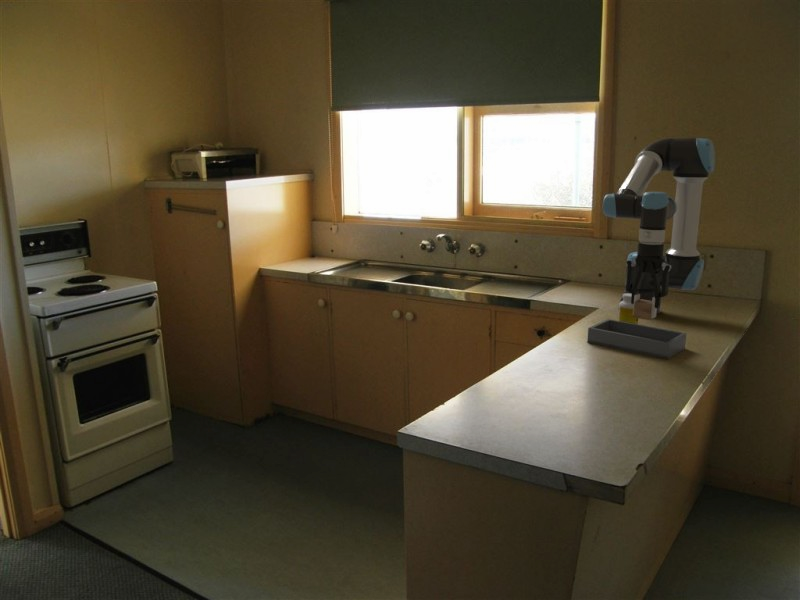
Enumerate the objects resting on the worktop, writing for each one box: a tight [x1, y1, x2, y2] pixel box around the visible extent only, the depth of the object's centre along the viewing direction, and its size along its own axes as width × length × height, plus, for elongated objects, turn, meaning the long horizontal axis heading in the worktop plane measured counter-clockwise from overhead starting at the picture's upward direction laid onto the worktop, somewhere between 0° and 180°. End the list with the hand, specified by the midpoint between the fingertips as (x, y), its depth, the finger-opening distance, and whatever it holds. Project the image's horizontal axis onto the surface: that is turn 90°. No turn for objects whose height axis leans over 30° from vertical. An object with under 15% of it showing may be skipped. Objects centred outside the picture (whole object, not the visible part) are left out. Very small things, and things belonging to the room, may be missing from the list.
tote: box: [586, 318, 687, 360], centre depth 223 cm, size 15×26×5 cm, turn 49°
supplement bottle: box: [617, 293, 639, 324], centre depth 239 cm, size 7×7×13 cm
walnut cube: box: [633, 299, 653, 321], centre depth 220 cm, size 5×5×5 cm
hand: (644, 315), depth 220 cm, fingers closed on walnut cube, 5 cm apart
